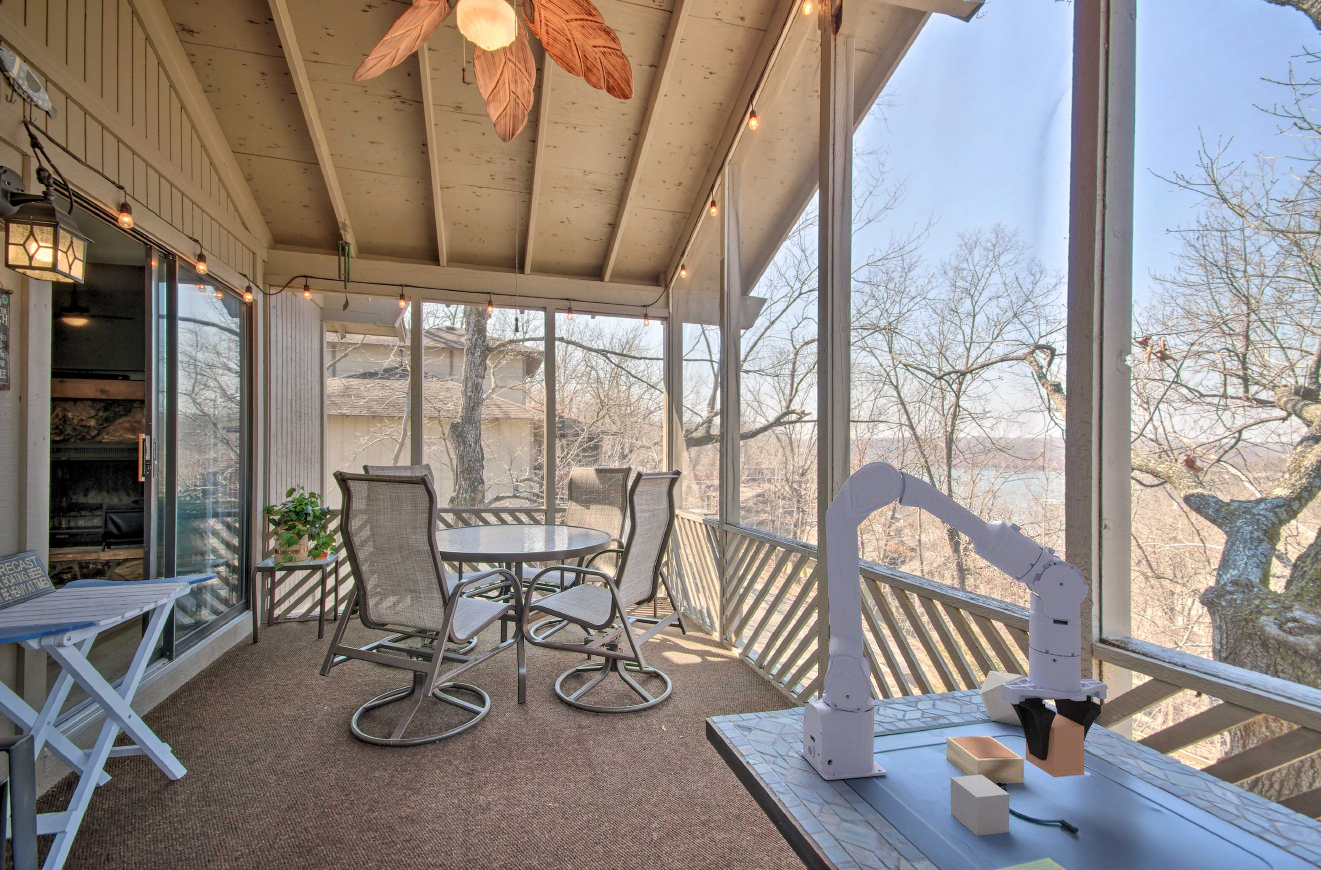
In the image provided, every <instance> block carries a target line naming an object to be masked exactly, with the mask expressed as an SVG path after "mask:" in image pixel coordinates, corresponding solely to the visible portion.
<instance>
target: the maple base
mask: <svg viewBox="0 0 1321 870" xmlns="http://www.w3.org/2000/svg"><path fill="white" fill-rule="evenodd" d="M946 760H947V761H948V762H949V763H951V764H952V765H953V766H954V767H956V769H958V770H959V771H960V772H961V773H963V774H964V776H972V775H983V776H984V777H986V778H987V779H989V780H990V781H992V782H993V783H994V784H996V785H998V784H997V783H999V782H1000V783H1002V784H1018V783H1019V784H1021V783H1025V759H1024V757H1022V756H1021V755H1019V754H1017V753H1016V752H1014V750H1012V749H1010V748H1009V747H1007V746H1005V744H1003V743H1001V741H998V740H997V739H996V738H994V737H992V736H990V735H978V736H977V735H973V736H970V735H969V736H967V735H966V736H947V737H946Z"/></svg>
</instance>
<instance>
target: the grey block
mask: <svg viewBox="0 0 1321 870" xmlns="http://www.w3.org/2000/svg"><path fill="white" fill-rule="evenodd" d="M950 813H951V814H950V815H951V816H953V817H954V816H955V817H956V818H955V817H954V818H955V819H956V820H957V819H958V820H957V821H959V823H961V824H962V825H963V826H964V825H965V828H967V829H968V830H969V831H971V833H972V834H974V835H975V836H977V837H978V836H986V835H995V834H1003V833H1010V793H1008V792H1007V791H1006V790H1004V789H1003V788H1001V787H1000V786H998V784H994V783H993V782H992V781H990V780H989V779H987V778H986V777H984V776H983V775H972V776H966V775H963V776H953V777H952V776H951V777H950Z"/></svg>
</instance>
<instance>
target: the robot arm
mask: <svg viewBox="0 0 1321 870" xmlns="http://www.w3.org/2000/svg"><path fill="white" fill-rule="evenodd" d="M896 500H898V504H899V505H900V506H902V507H911V508H920V509H923V510H924V511H926V512H927V513H929V514H931V515H932V516H934V517H935V518H937V519H939V520H940V521H942V522H943V523H945V524H946V525H948V526H950V527H951V528H952V529H955V530H956V531H958V532H960V533H961V534H963V535H965V536H966V537H967V538H969V539H970V540H971V541H972V544H973V549H974V554H975V555H977V556H979V558H982V559H983V560H985V561H986V562H988V563H989V564H990V565H992V566H993V567H995V568H997V569H998V570H999V571H1001V572H1002V573H1004V574H1006V575H1007V576H1009V577H1010V578H1012V579H1013V580H1014V581H1016V582H1017V583H1022V584H1025V586H1026V588H1027V589H1028V590H1029V591H1030V593H1029V594H1030V595H1029V596H1030V597H1029V598H1030V599H1029V600H1030V601H1029V602H1030V603H1029V608H1030V609H1029V611H1028V619H1029V620H1028V677H1024V679H1020V680H1017V681H1014V682H1010V683H1002V684H1001V698H1002V699H1004V700H1006V701H1008V702H1010V703H1011V705H1012V706H1013V708H1014V710H1015V712H1016V714H1017V716H1018V718H1019V720H1020V722H1021V725H1022V726H1021V727H1022V729H1023V733H1024V737H1025V742H1026V741H1027V745H1028V749H1029V753H1030V754H1031V755H1033V756H1035V757H1036V758H1038V759H1040V760H1042V761H1044V760H1046V759H1047V755H1048V747H1049V734H1050V729H1051V725H1052V723H1053V720H1054V718H1055V716H1056V714H1059V715H1061V716H1063V717H1065V718H1067V719H1069V720H1071V721H1074V722H1076V723H1078V724H1080V725H1082V726H1084V742H1085V740H1086V737H1087V735H1088V733H1089V730H1090V729H1091V727H1092V725H1093V723H1094V722H1095V721H1096V719H1097V718H1098V717H1099V716H1100V715H1101V714H1102V706H1101V705H1100V704H1099V703H1097V702H1095V701H1092V698H1096V699H1099V700H1107V698H1108V697H1107V696H1108V695H1107V694H1108V693H1107V688H1108V685H1107V684H1106V683H1104V682H1101V680H1100V681H1099V680H1097V679H1094V678H1082V677H1081V676H1082V671H1081V670H1082V618H1081V603H1082V602H1083V601H1084V600H1085V599H1086V597H1087V596H1088V593H1089V590H1090V589H1089V588H1090V587H1089V585H1088V584H1087V583H1086V579H1085V577H1084V576H1083V574H1082V573H1083V572H1081V570H1080V569H1079V568H1078V567H1076V565H1073V564H1072V563H1070V562H1068V561H1065V560H1064V559H1062V558H1061V557H1060V556H1058V555H1056V554H1055V553H1056V550H1055V549H1054V548H1052V547H1051V546H1049V545H1046V546H1042V544H1040V543H1038V542H1036V541H1035V540H1033V539H1032V538H1030V537H1028V536H1026V535H1025V534H1023V533H1022V532H1021V530H1022V526H1019V525H1018V524H1017V523H1015V522H1011V521H1010V522H1009V523H1006V522H1005V521H1003V520H1000V519H999V520H993V521H985V520H984V519H982V518H980V517H979V516H977V515H976V514H975V513H973V512H972V511H970V510H969V509H968V508H966V507H964V506H963V505H961V504H959V502H957V501H956V500H953V498H951V497H950V496H948V495H946V494H945V493H944V492H942V491H941V490H939V489H938V488H937V487H935V486H933V485H932V484H930V483H929V482H928V481H926V480H923V479H921V478H919V477H916V476H914V475H912V474H911V473H908V472H905V471H903V470H898V469H897V468H896V467H895V466H894V465H892V464H891V463H888V462H886V461H882V460H881V461H880V460H876V461H875V460H874V461H871V462H870V461H869V462H868V463H865V464H864V465H862V466H861V467H860V468H858V469H857V470H856V471H855V472H853V473H852V474H851V475H849V476H848V477H847V479H846V480H845V482H844V483H843V485H842V487H841V488H840V489H839V491H838V493H837V494H836V496H835V497H834V499H833V500H832V502H831V504H830V505H829V506H828V508H827V509H826V511H825V516H824V517H825V521H824V522H825V541H826V542H825V543H826V544H825V545H826V561H827V565H826V566H827V567H826V568H827V584H828V585H827V587H828V606H829V607H828V609H829V629H830V630H829V631H830V633H829V634H830V637H829V638H830V639H829V640H830V641H829V659H828V661H827V669H826V673H825V675H824V679H823V688H824V690H823V692H822V694H821V695H822V696H821V698H820V699H818V700H817V701H813V702H809V703H807V704H806V705H805V707H804V710H803V739H802V740H803V742H802V749H801V750H800V754H801V755H802V756H803V757H804V758H805V759H806V760H807V761H808V763H809V764H810V765H811V766H812V767H813V769H815V770H816V772H817V773H819V775H820V776H821V777H822V778H823V780H824V779H825V780H827V781H832V780H842V779H843V780H844V779H854V778H865V777H867V778H868V777H875V776H877V777H879V776H886V775H887V770H886V769H885V768H884V767H883V766H882V765H880V763H878V762H877V761H876V760H875V759H874V758H875V755H874V754H875V752H874V751H875V750H874V749H875V747H874V746H875V740H874V739H875V728H874V727H875V700H874V699H873V697H872V685H871V684H872V683H871V676H872V664H871V661H870V660H869V657H868V656H867V654H866V651H865V646H864V634H863V617H862V612H863V611H862V595H861V593H862V592H861V575H860V571H861V570H860V556H859V555H860V552H859V551H860V550H859V531H858V530H859V529H858V527H859V526H860V525H861V524H862V523H863V522H864V521H866V519H867V518H868V517H870V516H871V515H872V513H873V512H875V511H878V510H880V509H882V508H885V507H887V506H889V505H891V504H892V503H894V502H895V501H896ZM1051 700H1053V701H1054V705H1055V707H1056V708H1055V709H1056V711H1054V710H1052V709H1051V708H1049V707H1046V703H1044V701H1051Z"/></svg>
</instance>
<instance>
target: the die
mask: <svg viewBox="0 0 1321 870" xmlns="http://www.w3.org/2000/svg"><path fill="white" fill-rule="evenodd" d="M985 678H986V679H985V680H984V683H983V684H982V687H981V689H980V692H979V694H978V695H979V696H980V699H981V701H982V703H983V705H984V708H985V709H986V712H987V714H988V717H989V718H990V720H991V721H992V722H997V723H1003V724H1009V725H1015V726H1021V727H1022V725H1021V722H1020V720H1019V718H1018V716H1017V714H1016V712H1015V710H1014V708H1013V706H1012V705H1011V703H1010V702H1008V701H1006V700H1004V699H1002V698H1001V684H1002V683H1010V682H1014V681H1017V680H1020V679H1024V678H1025V676H1024V675H1023V674H1015V673H1011V672H1003V671H995V670H989V671H988V673H987V676H986V677H985Z"/></svg>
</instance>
